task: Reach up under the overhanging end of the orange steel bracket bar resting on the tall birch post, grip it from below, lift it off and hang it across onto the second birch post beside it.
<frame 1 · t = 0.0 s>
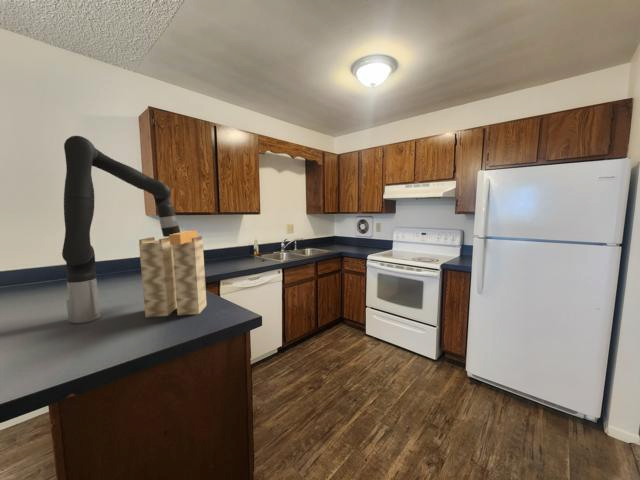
hand: (177, 257, 131), 22 cm above the worktop, tool pointing down, fingers open, 8 cm apart
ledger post: (192, 310, 121), on the worktop
rosette post: (162, 311, 119), on the worktop
bracket bar: (185, 241, 114), point 32 cm above the worktop, touching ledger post
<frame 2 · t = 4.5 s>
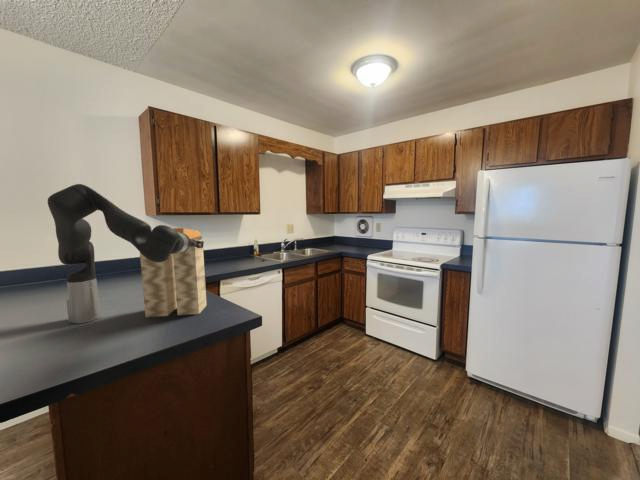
hand: (186, 242, 107), 32 cm above the worktop, tool horizontal, fingers open, 8 cm apart
bracket bar: (187, 239, 116), point 33 cm above the worktop, tilted 8°, touching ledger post
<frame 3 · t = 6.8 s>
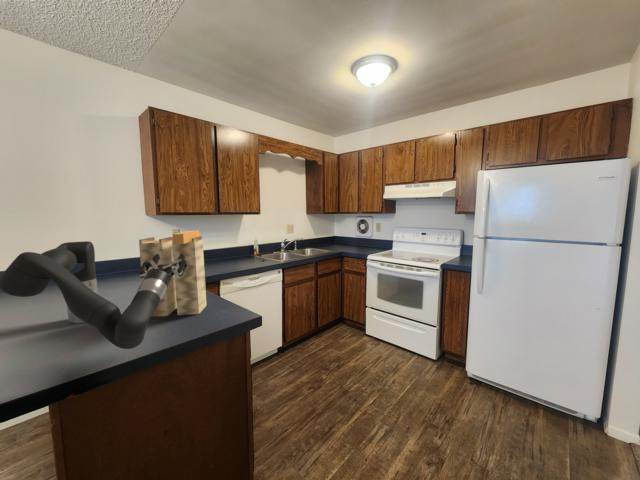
hand: (170, 255, 99), 29 cm above the worktop, tool pointing upward, fingers open, 8 cm apart
bracket bar: (187, 241, 116), point 32 cm above the worktop, touching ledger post
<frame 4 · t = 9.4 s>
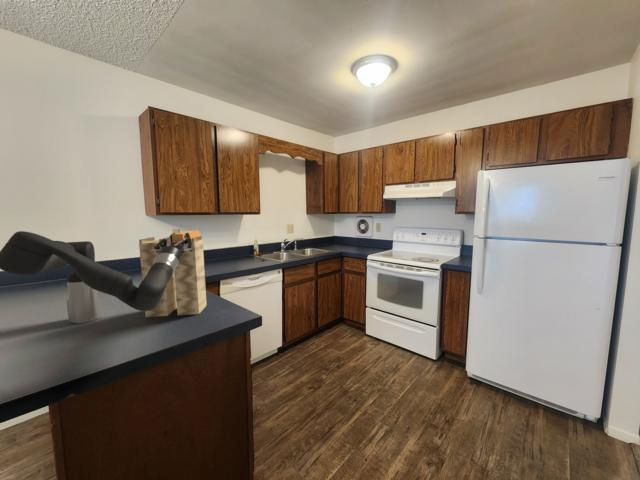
hand: (181, 234, 110), 35 cm above the worktop, tool pointing upward
bracket bar: (187, 241, 116), point 32 cm above the worktop, touching gripper
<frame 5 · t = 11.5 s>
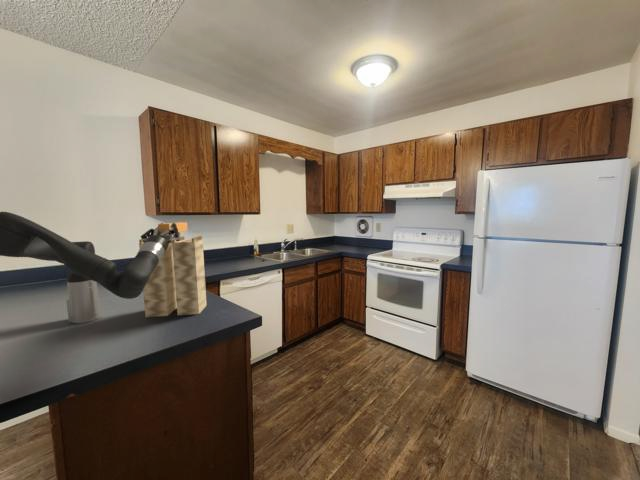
hand: (168, 225, 109), 39 cm above the worktop, tool pointing upward, fingers closed on bracket bar, 4 cm apart
bracket bar: (174, 232, 115), point 36 cm above the worktop, touching gripper
when the fingers open (36 cm above the worktop, at t = 13.6 s): bracket bar stays where it is, resting on rosette post.
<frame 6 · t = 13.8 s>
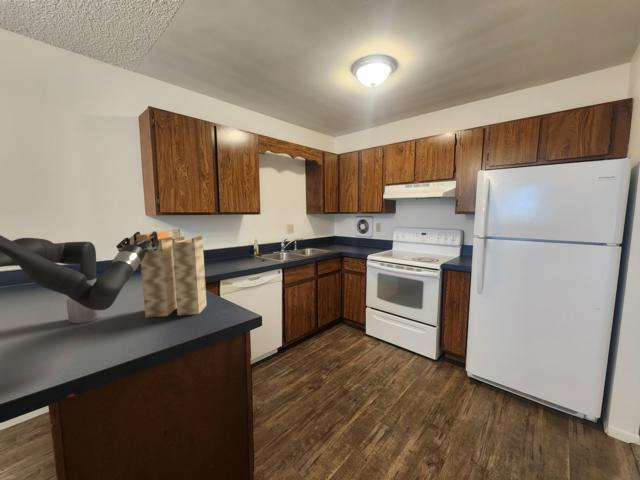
hand: (147, 233, 108), 36 cm above the worktop, tool pointing upward, fingers open, 5 cm apart
bracket bar: (155, 242, 114), point 32 cm above the worktop, touching rosette post
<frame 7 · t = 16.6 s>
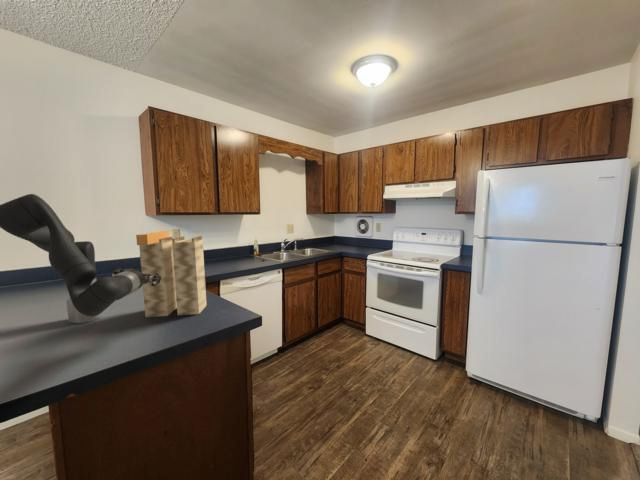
hand: (145, 273, 103), 21 cm above the worktop, tool horizontal, fingers open, 8 cm apart
nothing on the worktop moved.
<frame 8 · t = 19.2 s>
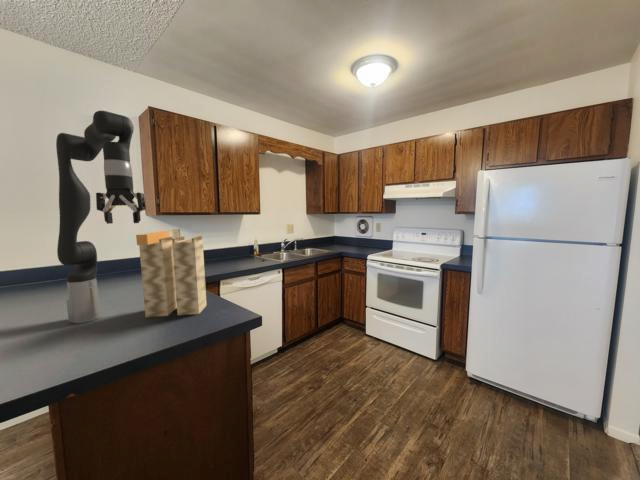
hand: (123, 223, 91), 41 cm above the worktop, tool pointing down, fingers open, 8 cm apart
nothing on the worktop moved.
at the end: bracket bar inside the target area on the rosette post (1.7 cm from its centre), point 32.0 cm above the rosette post's base; the gripper is holding nothing; bracket bar touching rosette post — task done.
